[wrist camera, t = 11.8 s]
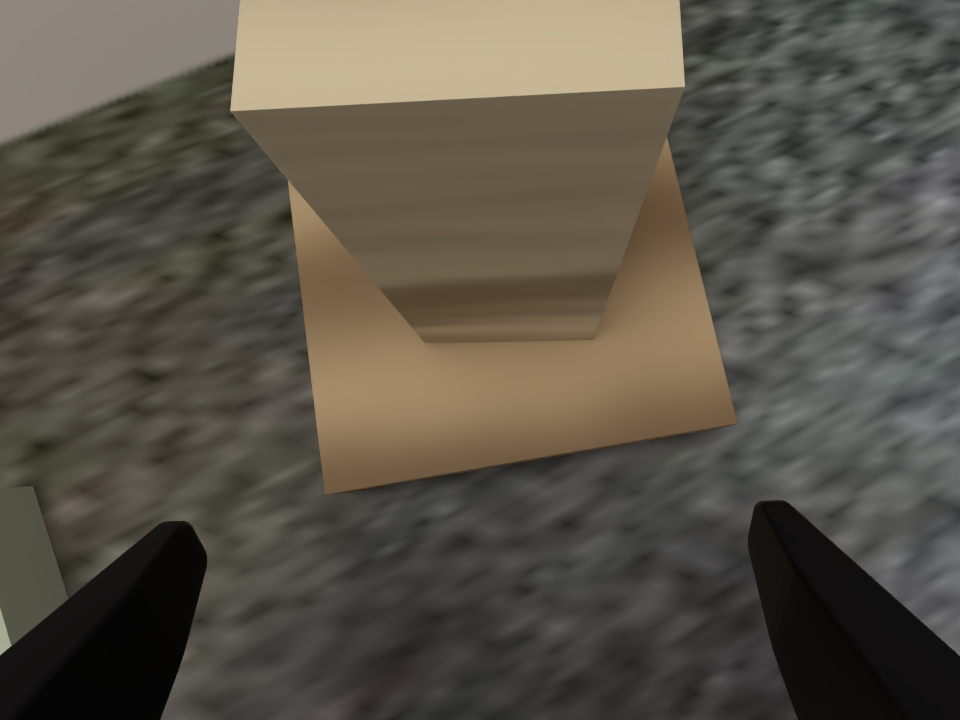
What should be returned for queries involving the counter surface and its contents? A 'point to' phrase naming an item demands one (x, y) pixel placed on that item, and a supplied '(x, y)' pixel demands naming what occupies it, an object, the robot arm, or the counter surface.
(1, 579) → the sage block
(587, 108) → the beech post
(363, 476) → the oak block
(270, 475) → the counter surface
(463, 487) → the counter surface
